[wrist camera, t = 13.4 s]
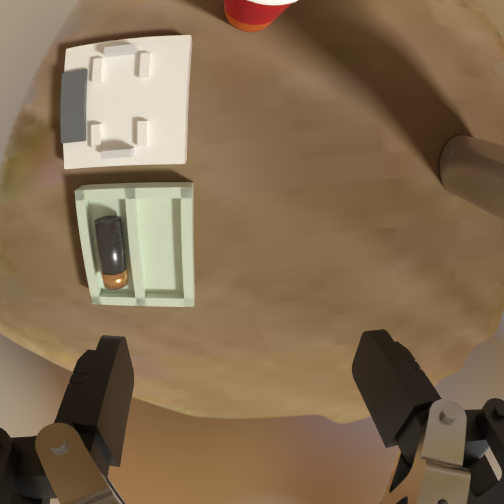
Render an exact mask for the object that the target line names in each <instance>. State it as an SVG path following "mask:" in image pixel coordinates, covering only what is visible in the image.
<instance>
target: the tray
mask: <svg viewBox="0 0 504 504" xmlns="http://www.w3.org/2000/svg"><path fill="white" fill-rule="evenodd" d="M75 201H76V210H77V218H78V226H79V233H80V240H81V246H82V253H83V258H84V264H85V270H86V275H87V280H88V285H89V290H90V294H91V299H92V303H93V304H103V305H129V306H171V307H194V301H195V284H194V241H193V182H143V183H112V184H91V185H82V186H81V187H79V188H78V189H76V190H75ZM110 215H115V216H120V217H121V220H122V231H123V241H124V250H125V259H126V266H127V273H128V280H129V282H128V284H127V285H126V286H125V287H123V288H121V289H117V290H110V289H107V288H105V287H104V285H103V280H102V275H101V268H100V262H99V255H98V248H97V241H96V234H95V226H94V221H95V220H96V219H97V218H100V217H103V216H110Z"/></svg>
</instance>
